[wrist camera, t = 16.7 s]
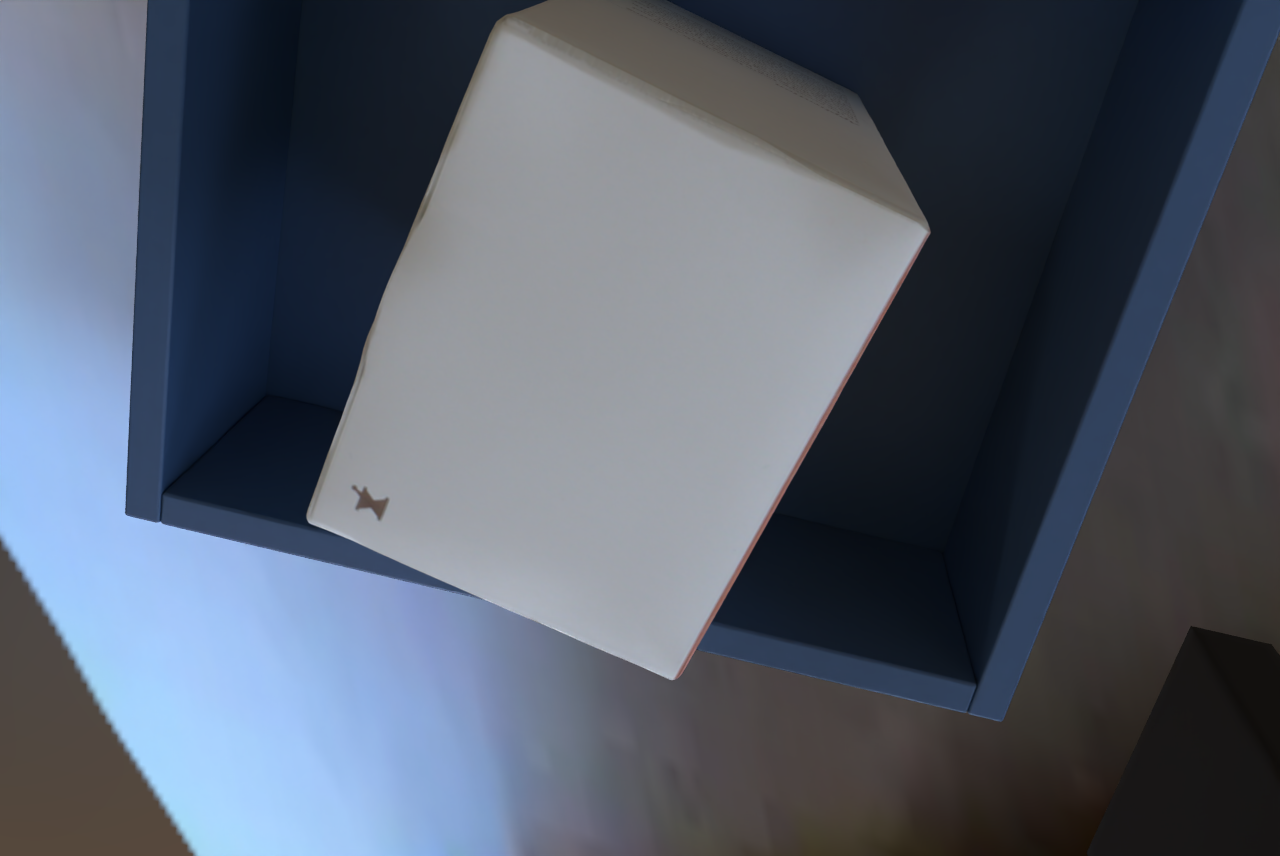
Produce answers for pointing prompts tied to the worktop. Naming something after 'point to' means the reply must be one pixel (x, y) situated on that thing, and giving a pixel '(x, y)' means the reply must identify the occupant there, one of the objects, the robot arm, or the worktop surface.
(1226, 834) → the robot arm
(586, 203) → the small box
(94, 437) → the worktop surface
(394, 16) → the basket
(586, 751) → the worktop surface
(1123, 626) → the worktop surface
